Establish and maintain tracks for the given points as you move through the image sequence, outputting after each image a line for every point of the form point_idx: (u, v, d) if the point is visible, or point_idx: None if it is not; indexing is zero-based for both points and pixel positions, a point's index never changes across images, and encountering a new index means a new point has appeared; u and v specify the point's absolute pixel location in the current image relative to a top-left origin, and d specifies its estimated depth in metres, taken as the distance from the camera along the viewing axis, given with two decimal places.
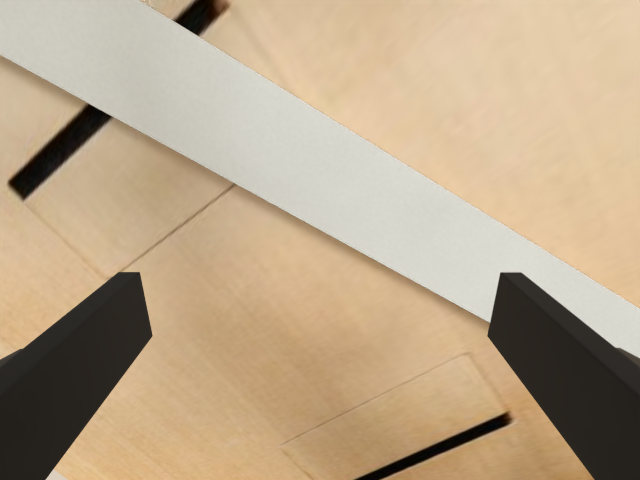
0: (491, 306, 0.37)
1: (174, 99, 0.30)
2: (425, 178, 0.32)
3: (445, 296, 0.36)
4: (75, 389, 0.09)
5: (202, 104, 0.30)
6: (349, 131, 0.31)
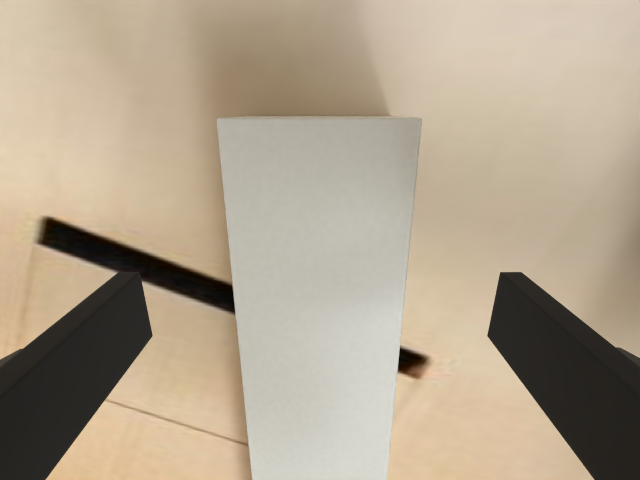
0: None
1: (309, 468, 0.24)
2: None
3: None
4: (75, 389, 0.09)
5: None
6: None
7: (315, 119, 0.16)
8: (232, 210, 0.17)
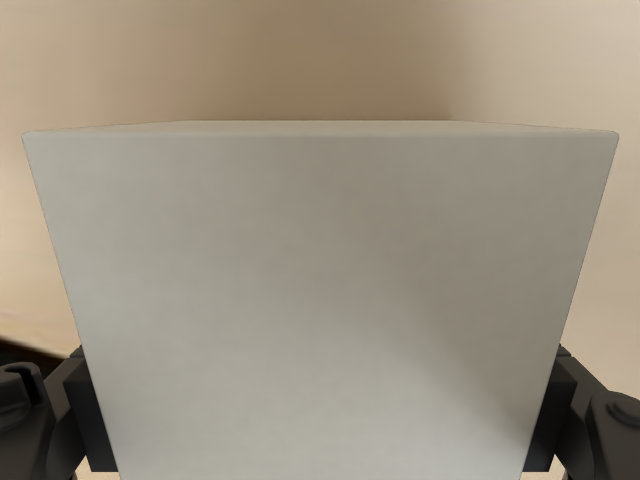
0: None
1: None
2: None
3: None
4: None
5: None
6: None
7: (309, 135, 0.05)
8: (102, 360, 0.07)
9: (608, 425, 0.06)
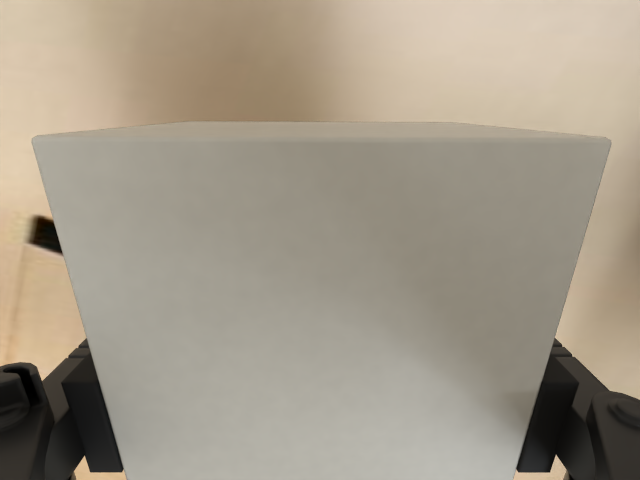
0: None
1: None
2: None
3: None
4: None
5: None
6: None
7: (313, 140, 0.06)
8: (108, 359, 0.07)
9: (610, 426, 0.06)
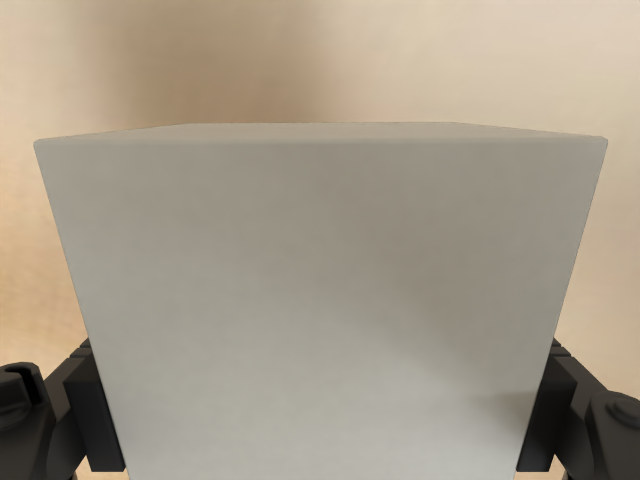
0: None
1: None
2: None
3: None
4: None
5: None
6: None
7: (310, 142, 0.06)
8: (111, 359, 0.07)
9: (608, 426, 0.06)
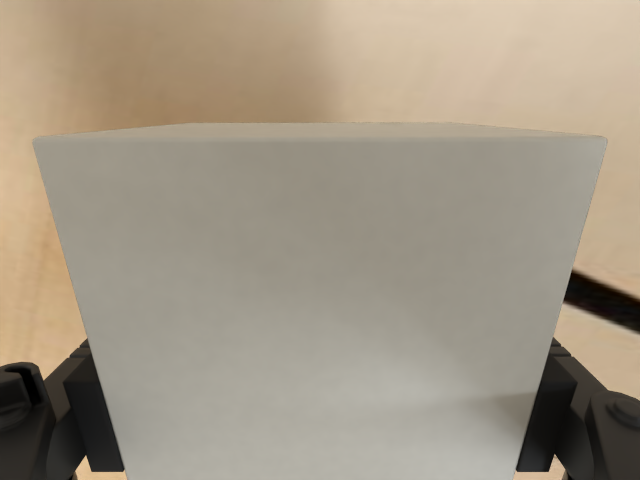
0: None
1: None
2: None
3: None
4: None
5: None
6: None
7: (310, 140, 0.06)
8: (108, 358, 0.07)
9: (608, 425, 0.06)
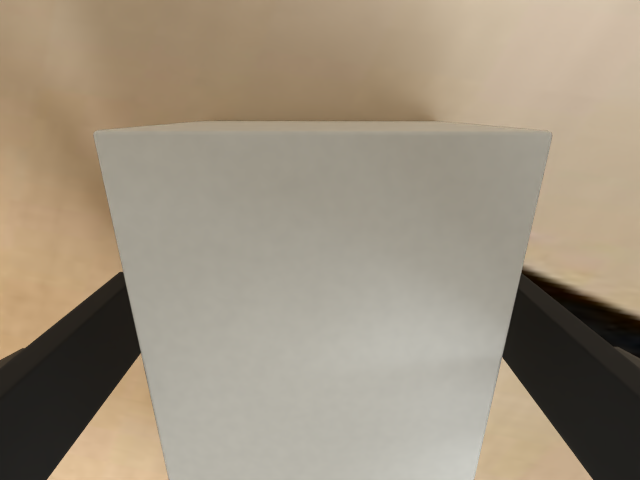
0: None
1: None
2: None
3: None
4: (76, 388, 0.09)
5: None
6: None
7: (315, 133, 0.07)
8: (146, 316, 0.09)
9: None
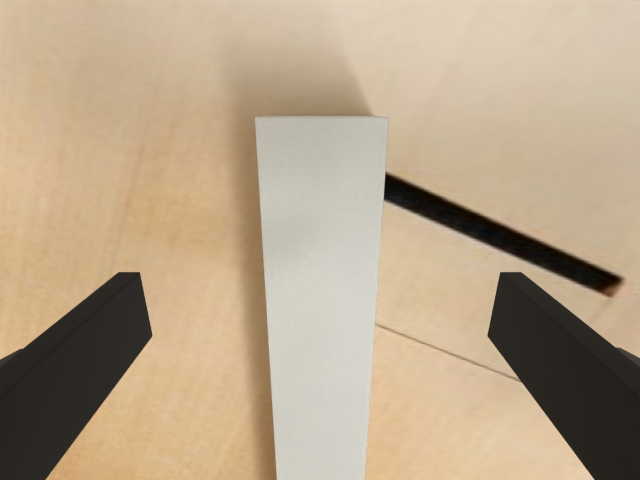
0: None
1: (313, 375, 0.32)
2: None
3: None
4: (75, 389, 0.09)
5: (322, 394, 0.33)
6: None
7: (319, 117, 0.24)
8: (263, 179, 0.26)
9: None
